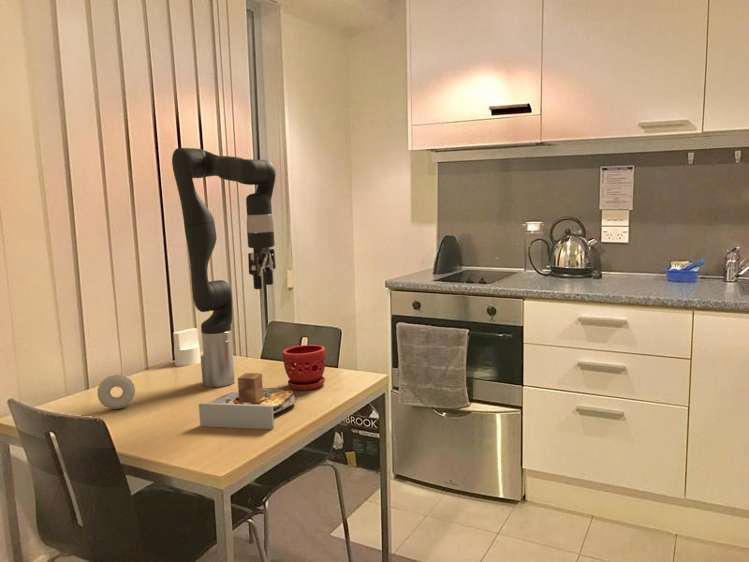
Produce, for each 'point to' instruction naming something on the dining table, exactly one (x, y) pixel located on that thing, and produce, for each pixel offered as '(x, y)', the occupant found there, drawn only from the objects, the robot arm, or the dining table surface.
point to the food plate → (275, 398)
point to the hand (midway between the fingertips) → (263, 286)
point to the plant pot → (305, 366)
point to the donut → (116, 401)
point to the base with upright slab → (186, 347)
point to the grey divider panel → (236, 415)
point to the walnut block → (250, 387)
